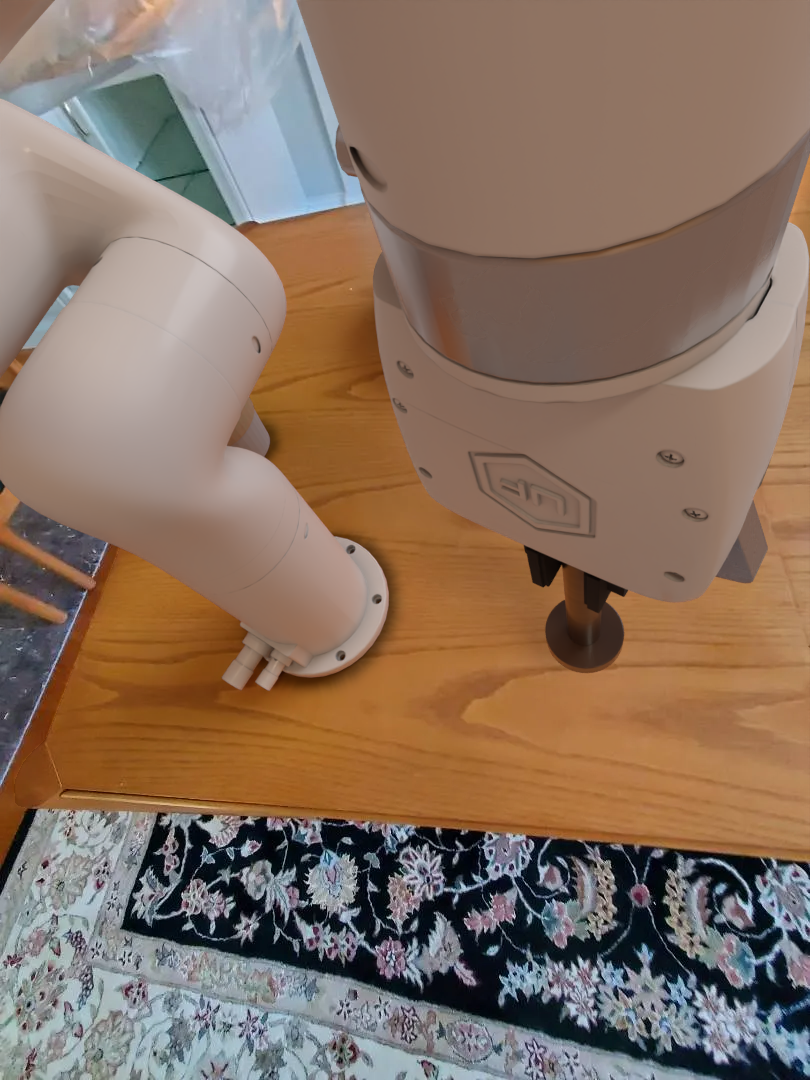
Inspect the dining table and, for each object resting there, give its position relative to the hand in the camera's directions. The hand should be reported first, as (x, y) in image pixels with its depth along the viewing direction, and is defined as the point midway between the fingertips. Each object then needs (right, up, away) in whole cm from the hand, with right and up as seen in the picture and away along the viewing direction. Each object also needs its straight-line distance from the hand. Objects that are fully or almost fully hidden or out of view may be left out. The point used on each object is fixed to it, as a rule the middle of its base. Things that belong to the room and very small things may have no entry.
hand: (581, 569), depth 28 cm
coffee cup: (-25, +11, +37) cm, 46 cm away
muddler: (+3, -4, +9) cm, 11 cm away
